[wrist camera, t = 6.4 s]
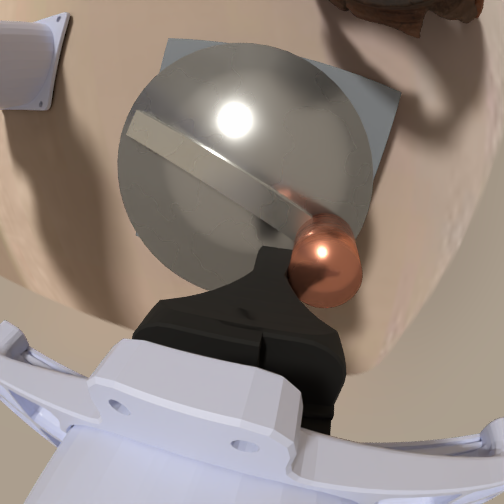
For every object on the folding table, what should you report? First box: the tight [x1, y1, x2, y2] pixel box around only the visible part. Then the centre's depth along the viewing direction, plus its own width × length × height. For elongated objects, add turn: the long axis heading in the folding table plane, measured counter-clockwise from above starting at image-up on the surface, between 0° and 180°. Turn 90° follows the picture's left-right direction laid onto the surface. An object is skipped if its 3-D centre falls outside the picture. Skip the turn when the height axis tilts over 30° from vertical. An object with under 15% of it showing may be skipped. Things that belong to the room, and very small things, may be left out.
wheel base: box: [136, 38, 401, 236], centre depth 14 cm, size 12×12×1 cm
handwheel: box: [118, 43, 373, 308], centre depth 11 cm, size 11×11×6 cm
